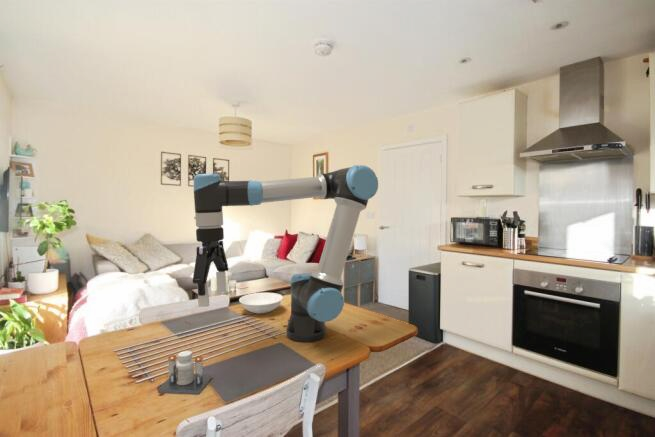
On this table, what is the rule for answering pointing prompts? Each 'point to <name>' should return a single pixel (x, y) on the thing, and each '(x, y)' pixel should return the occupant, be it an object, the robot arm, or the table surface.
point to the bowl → (261, 302)
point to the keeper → (191, 388)
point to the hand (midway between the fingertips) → (213, 298)
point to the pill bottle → (185, 368)
